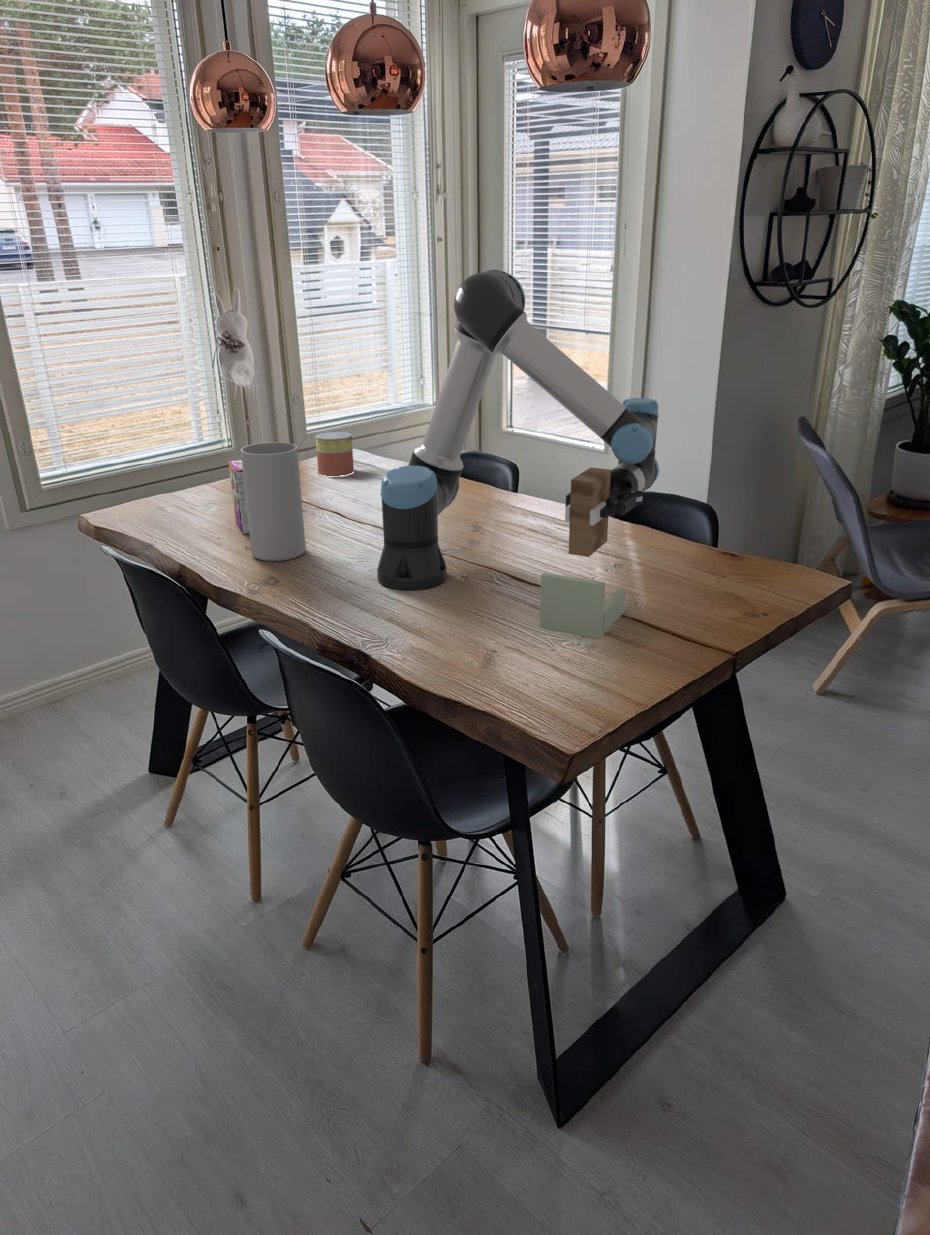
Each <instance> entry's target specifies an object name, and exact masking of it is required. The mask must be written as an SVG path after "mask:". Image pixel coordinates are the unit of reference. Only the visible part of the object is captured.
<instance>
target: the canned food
mask: <svg viewBox="0 0 930 1235" xmlns="http://www.w3.org/2000/svg"><path fill="white" fill-rule="evenodd" d="M314 437H315V448H316V462H317V463H316V464H317V474H318V473H319V474H321V475H326V476H340V475H347V474H350V473H352V472H353V471H354V472H355V469H354V451H353V450H354V449H353V434H352V433H351V432H347V431H326V432H320V433H318V434H315V436H314Z"/></svg>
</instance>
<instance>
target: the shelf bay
mask: <svg viewBox="0 0 930 1235" xmlns="http://www.w3.org/2000/svg"><path fill="white" fill-rule="evenodd" d="M605 593H606V582H603V581H599V580H598V581H597V580H591V579H586V578H581V577H574V576H568V575H562V574H556V573H555V574H554V573H550V572H543V573H541V574H540V602H539V604H540V605H539V628H540V629H546V630H553V631H558V632H561V633H567V634H572V635H577V636H583V637H589V638H593V639H598V640H600V639H601V638H602V637H603V636H604V635H605V634H606V632H608V630H609V629H610V628H611V627H612V626H613V625H614V624H616V622H617V621H618V620H619V619H620V617H621V616H623V614H624V613H625V612H626V611H627V610H628V606H627V605H625V604H626V590H624V589H623V590H622V589H617V590H616V591H615V592H614V593H613V594H612V595H610V597H609V598H608V599H607V600H606V601H605V599H606V597H605V595H606V594H605Z"/></svg>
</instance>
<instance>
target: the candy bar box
mask: <svg viewBox="0 0 930 1235" xmlns="http://www.w3.org/2000/svg"><path fill="white" fill-rule="evenodd" d="M228 471H229V478H230V484H231V485H230V487H231V493H232V501H233V509H234V510H233V511H234V518H235V523H236V525H237V526H238V528H239V530H240V532H241V534H242V535H250V532H249V523H248V513H247V504H246V495H245V486H244V476H243V467H242V459H237V460H230V461H229V460H228Z"/></svg>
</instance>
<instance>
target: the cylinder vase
mask: <svg viewBox="0 0 930 1235" xmlns="http://www.w3.org/2000/svg"><path fill="white" fill-rule="evenodd" d="M240 456H241V460H242V467H243V476H244V486H245V495H246V504H247V513H248V523H249V532H250V533H249V539H250V550H251V554H252V556H253V557H254V558H256V559H258V560H261V561H264V562H265V561H266V562H284V561H290V560H294V559H296V558H299V557H301V556H302V555H303V554H304V553H305V552H306V550H307V548H306V538H305V523H304V511H303V501H302V500H303V499H302V489H301V488H302V487H301V486H302V485H301V476H300V467H299V466H300V464H299V452H298V446H297V444H294V443H289V442H281V441H280V442H279V441H277V442H276V441H275V442H272V441H271V442H259V443H254V444H248V445H246V446H243V447H242V448H241V449H240Z"/></svg>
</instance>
